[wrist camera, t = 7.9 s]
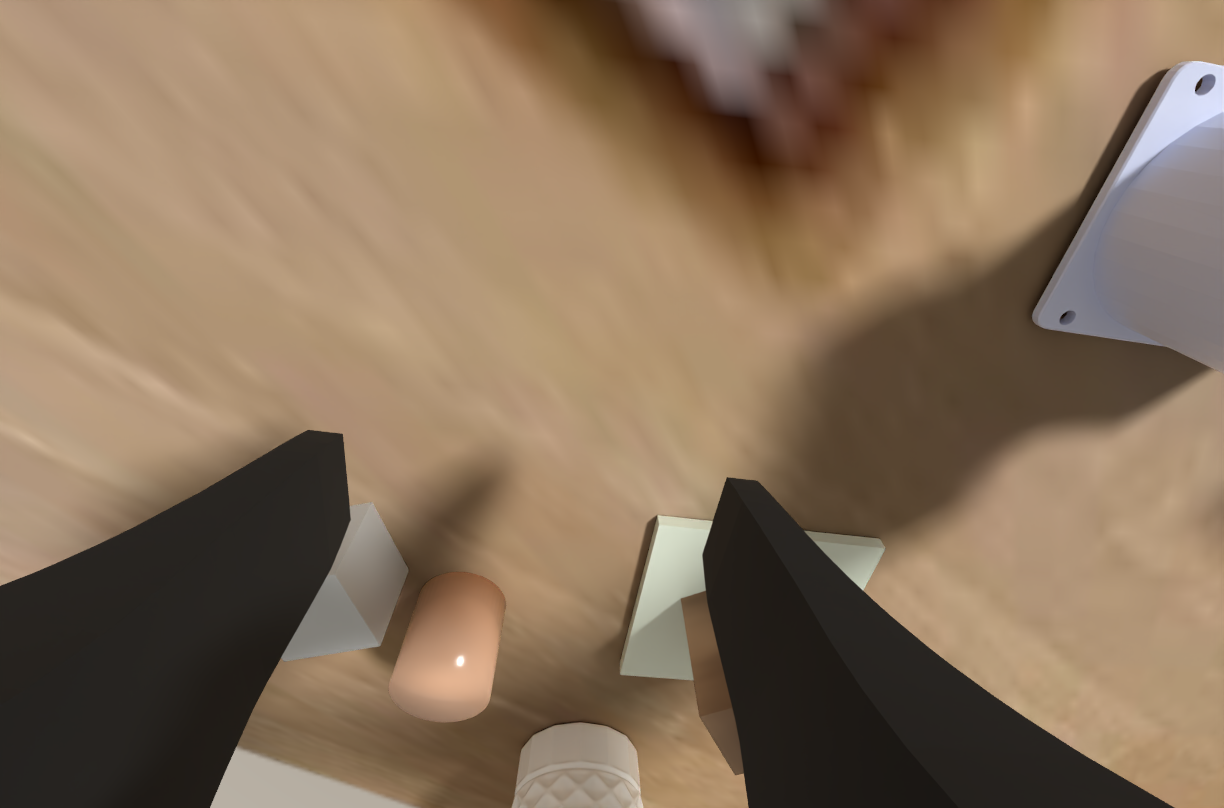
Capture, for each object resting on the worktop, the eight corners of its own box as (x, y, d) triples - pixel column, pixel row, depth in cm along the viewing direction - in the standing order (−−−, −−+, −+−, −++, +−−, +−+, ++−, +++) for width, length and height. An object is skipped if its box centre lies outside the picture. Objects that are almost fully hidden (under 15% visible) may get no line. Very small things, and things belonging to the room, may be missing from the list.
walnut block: (776, 568, 25) (818, 684, 20) (801, 630, 27) (844, 748, 22) (680, 598, 26) (699, 716, 21) (711, 655, 28) (735, 775, 23)
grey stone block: (372, 500, 24) (334, 574, 20) (409, 568, 26) (380, 646, 22) (282, 517, 24) (229, 592, 20) (325, 583, 26) (284, 661, 22)
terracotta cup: (508, 576, 26) (493, 665, 22) (503, 634, 28) (488, 725, 24) (418, 567, 25) (386, 656, 22) (419, 627, 27) (390, 719, 23)
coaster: (879, 538, 25) (885, 548, 25) (806, 678, 30) (810, 689, 30) (657, 515, 24) (658, 524, 24) (619, 664, 29) (620, 674, 29)
